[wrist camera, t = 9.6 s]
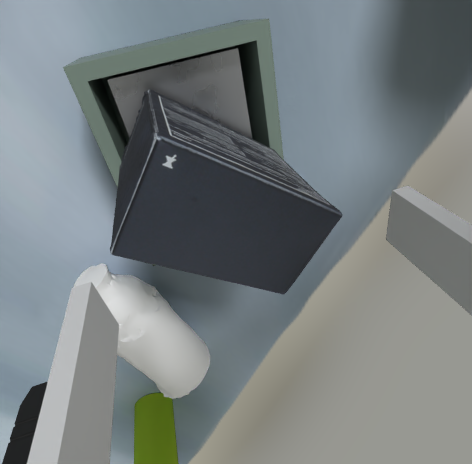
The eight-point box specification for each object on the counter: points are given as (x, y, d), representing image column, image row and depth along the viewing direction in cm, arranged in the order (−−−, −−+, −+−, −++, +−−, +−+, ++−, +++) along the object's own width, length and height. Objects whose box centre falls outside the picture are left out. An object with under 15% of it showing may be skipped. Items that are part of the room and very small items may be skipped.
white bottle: (127, 234, 34) (125, 283, 27) (205, 329, 45) (216, 380, 38) (62, 268, 34) (44, 325, 27) (155, 355, 45) (158, 410, 38)
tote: (240, 20, 26) (269, 18, 20) (265, 191, 35) (290, 223, 29) (80, 58, 24) (63, 67, 19) (150, 225, 34) (153, 266, 28)
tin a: (221, 44, 26) (238, 48, 22) (236, 123, 29) (252, 138, 25) (112, 71, 25) (107, 80, 21) (141, 149, 28) (142, 169, 24)
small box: (115, 173, 23) (101, 261, 14) (146, 85, 20) (152, 125, 12) (239, 217, 27) (285, 302, 19) (277, 149, 25) (349, 211, 16)
